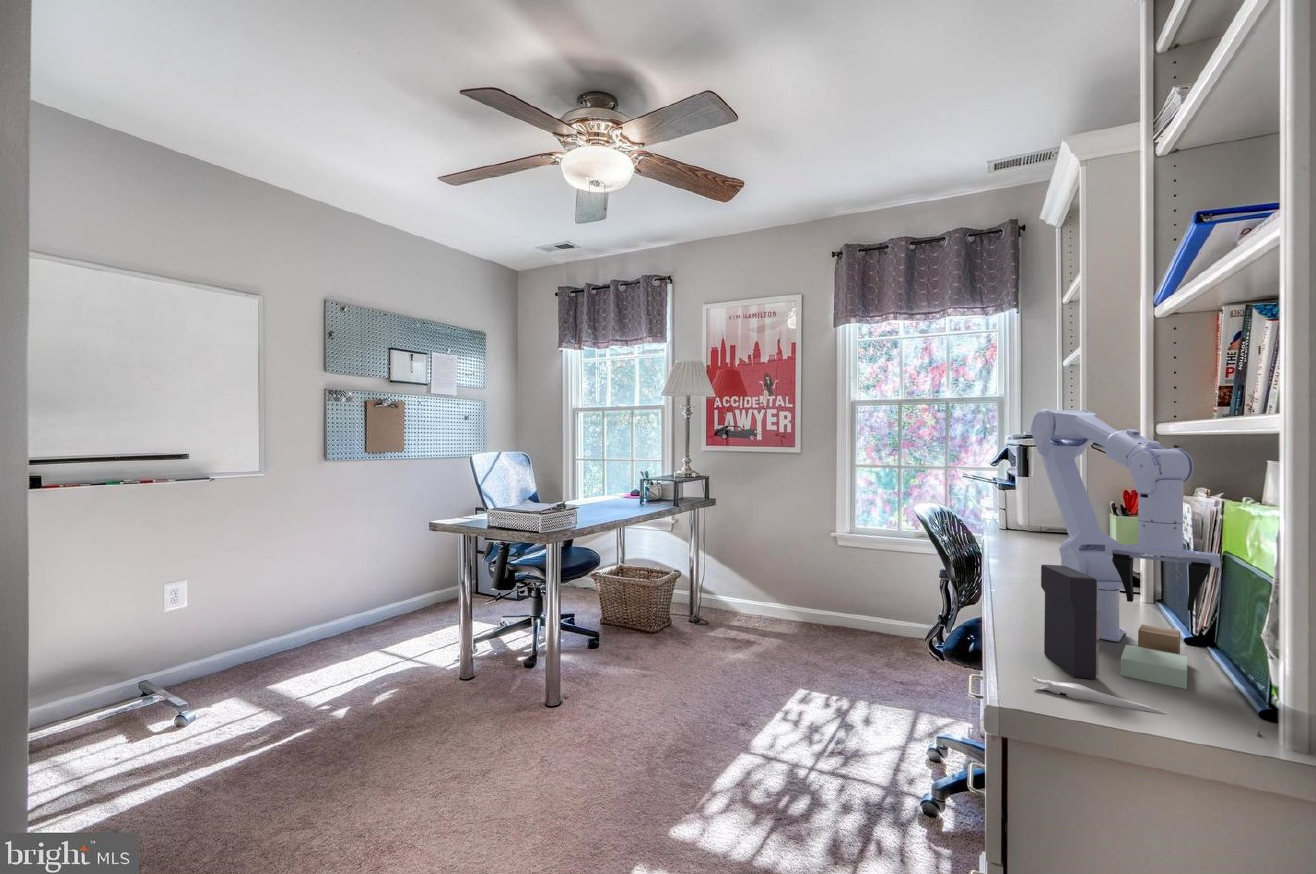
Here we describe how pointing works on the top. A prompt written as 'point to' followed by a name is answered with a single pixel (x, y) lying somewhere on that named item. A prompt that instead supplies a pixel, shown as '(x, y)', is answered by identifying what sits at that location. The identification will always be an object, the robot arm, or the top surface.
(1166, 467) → the robot arm
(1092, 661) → the calculator
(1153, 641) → the walnut cube
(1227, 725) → the top surface
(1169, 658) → the block
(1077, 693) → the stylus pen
